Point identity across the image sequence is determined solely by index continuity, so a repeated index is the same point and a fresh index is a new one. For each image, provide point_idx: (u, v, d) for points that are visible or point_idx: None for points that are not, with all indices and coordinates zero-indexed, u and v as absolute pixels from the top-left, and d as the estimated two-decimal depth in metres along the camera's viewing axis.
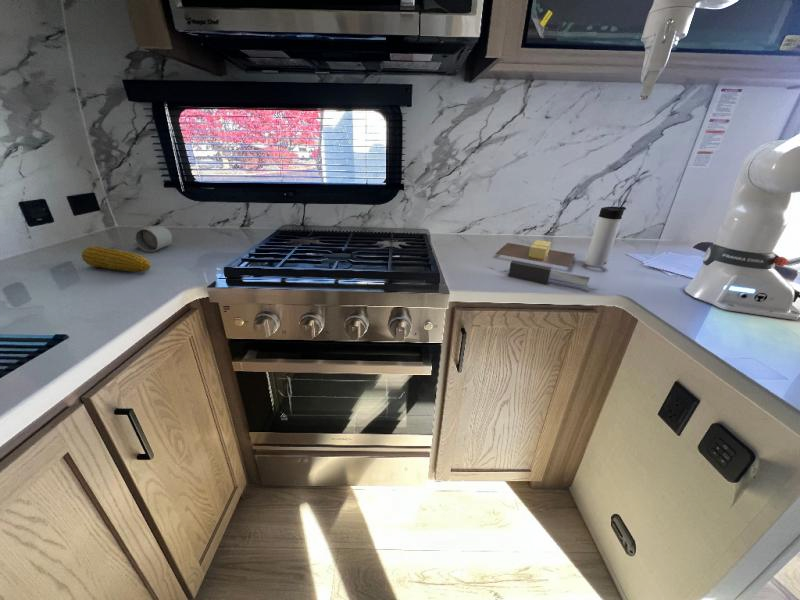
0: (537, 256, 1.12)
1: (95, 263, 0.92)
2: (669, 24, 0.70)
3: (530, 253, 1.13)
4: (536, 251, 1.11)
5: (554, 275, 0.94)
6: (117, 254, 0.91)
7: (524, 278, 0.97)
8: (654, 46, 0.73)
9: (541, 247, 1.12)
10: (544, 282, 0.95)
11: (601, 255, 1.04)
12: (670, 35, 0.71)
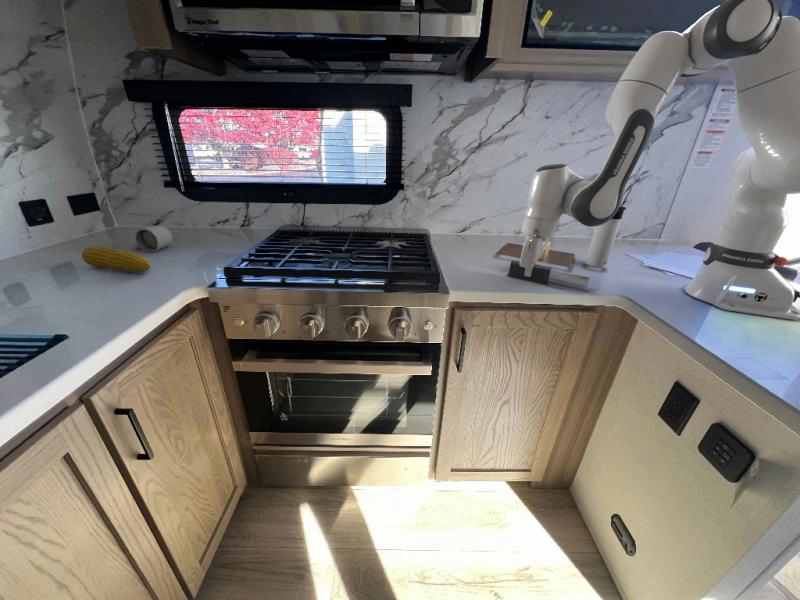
0: None
1: (95, 263, 0.92)
2: (531, 240, 0.84)
3: None
4: None
5: (554, 275, 0.94)
6: (117, 254, 0.91)
7: (524, 278, 0.97)
8: (522, 252, 0.87)
9: None
10: (544, 282, 0.95)
11: (601, 255, 1.04)
12: (533, 246, 0.85)
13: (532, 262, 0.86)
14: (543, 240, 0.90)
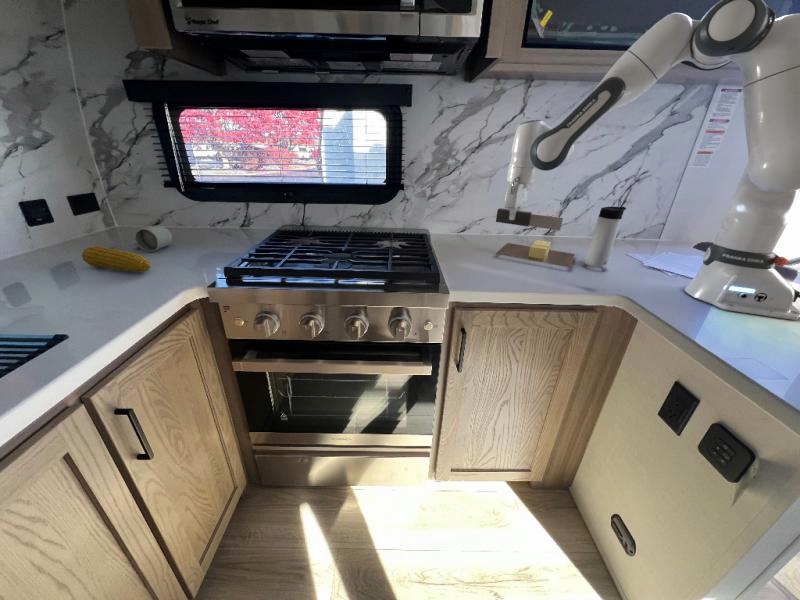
0: (537, 256, 1.12)
1: (95, 263, 0.92)
2: (513, 183, 1.01)
3: (530, 253, 1.13)
4: (536, 251, 1.11)
5: (534, 218, 1.11)
6: (117, 254, 0.91)
7: (509, 222, 1.14)
8: (506, 195, 1.04)
9: (541, 247, 1.12)
10: (525, 224, 1.12)
11: (601, 255, 1.04)
12: (515, 189, 1.02)
13: (514, 203, 1.03)
14: (524, 186, 1.07)
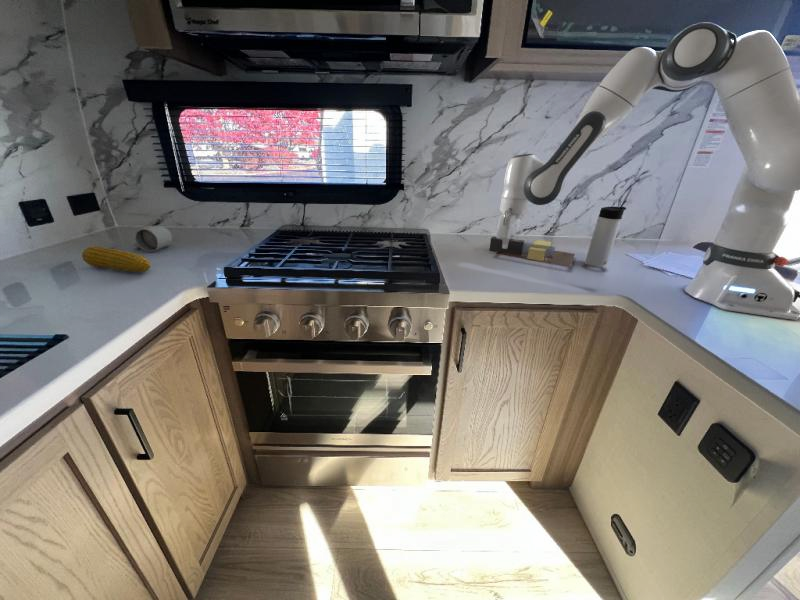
0: (536, 258, 1.10)
1: (95, 263, 0.92)
2: (505, 216, 1.03)
3: (529, 255, 1.11)
4: (535, 253, 1.09)
5: (527, 247, 1.13)
6: (117, 254, 0.91)
7: (502, 250, 1.16)
8: (499, 226, 1.06)
9: (540, 249, 1.10)
10: (519, 253, 1.14)
11: (601, 255, 1.04)
12: (507, 221, 1.04)
13: (506, 234, 1.05)
14: (516, 217, 1.09)
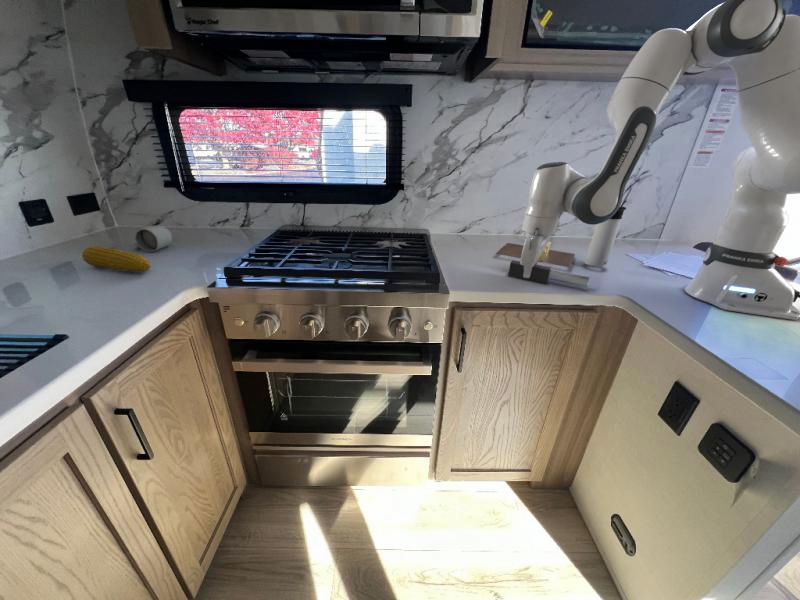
0: None
1: (95, 263, 0.92)
2: (532, 238, 0.84)
3: None
4: None
5: (554, 275, 0.94)
6: (117, 254, 0.91)
7: (524, 278, 0.98)
8: (523, 250, 0.87)
9: None
10: (544, 282, 0.95)
11: (601, 255, 1.04)
12: (534, 244, 0.85)
13: (533, 260, 0.86)
14: (544, 238, 0.90)
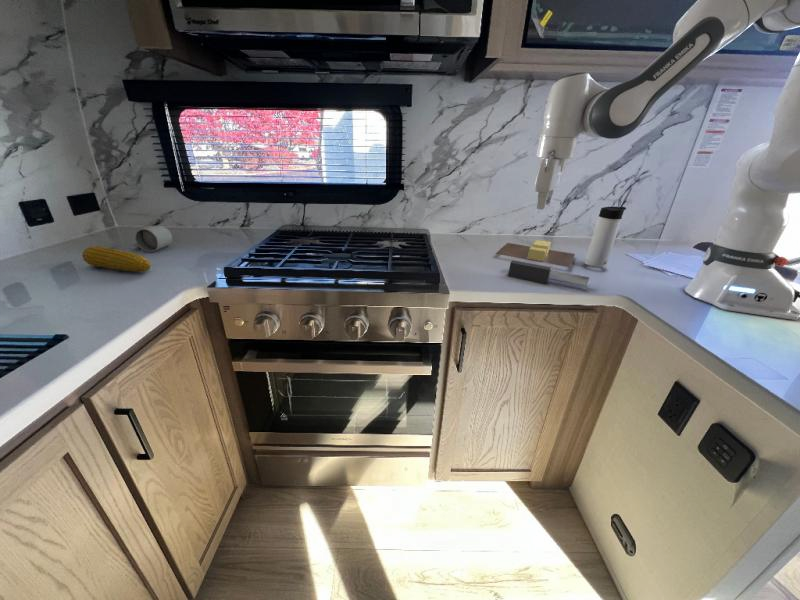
0: (536, 258, 1.10)
1: (95, 263, 0.92)
2: (548, 157, 0.76)
3: (529, 255, 1.10)
4: (535, 253, 1.09)
5: (554, 275, 0.94)
6: (117, 254, 0.91)
7: (524, 278, 0.98)
8: (538, 173, 0.78)
9: (540, 249, 1.09)
10: (544, 282, 0.95)
11: (601, 255, 1.04)
12: (550, 165, 0.77)
13: (549, 184, 0.78)
14: (560, 163, 0.82)
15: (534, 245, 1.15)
